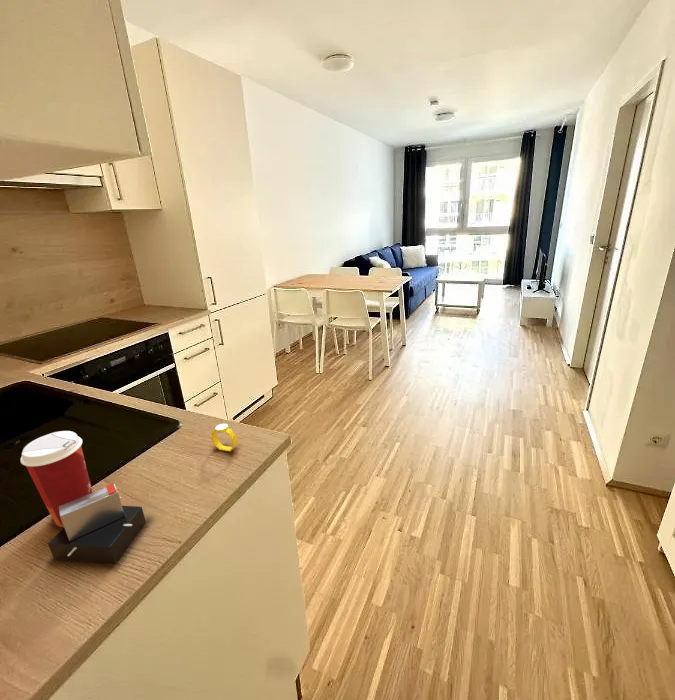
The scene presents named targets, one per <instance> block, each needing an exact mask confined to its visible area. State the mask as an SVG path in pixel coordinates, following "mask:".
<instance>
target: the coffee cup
mask: <svg viewBox="0 0 675 700" xmlns="http://www.w3.org/2000/svg"><path fill="white" fill-rule="evenodd" d="M82 445H83V438H81V437H80V436H78V434H77V433H76V432H74V431H71V430H60V431H54V432H51V433H47V434H45V435H42V436H40V437H37V438H36V439H34V440H32V441H30V442H29V443H27V444H26V445H25V446H24V447H23V449H22V452H21V457H20V459H19V460H20V464H21V465H22V466H25V467H26V469H27V471H28V474H29V475H30V477H31V479H32V481H33V483H34V486H35V488H36V489H37V491H38V493H39V495H40V497H41V499H42V501H43V503H44V505H45V507H46V509H47V511H48V513H49V514H50V517H51V518H52V520H53V522H54V524H55V525H56V526H57V527H59V528H64V526H63V523H62V520H61V518H60V512H59V506H61V505H64V504H66V503H69V502H71V501H73V500H76V499H78V498H81V497H83V496H86V495H88V494H91V493H93V489H92V485H91V480H90V476H89V472H88V468H87V464H86V461H85V456H84V452H83V448H82Z"/></svg>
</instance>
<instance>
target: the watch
mask: <svg viewBox="0 0 675 700" xmlns="http://www.w3.org/2000/svg"><path fill="white" fill-rule="evenodd" d="M214 427H215V428H214V429H213V430H212V432H211V434H210V437H211V441H212V443H213V445H214V446H215V448H217V449H218V450H219V451H225V452H232V451H233V450H234V449H235V448H236V447H237V445H238V439H237V436H236V434H235V432H234V431H233V430H232V429H231V428H229V424H228V423H220V424H218V425H216V426H214ZM217 433H219V434H221V433H225V434H226V435H227V436H228V437H229V438H230V440H231V442H232V445H231V446H228V445H223V444H222V443H221V442H220V440H219V438H218V435H217Z"/></svg>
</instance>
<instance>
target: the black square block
mask: <svg viewBox="0 0 675 700" xmlns="http://www.w3.org/2000/svg"><path fill="white" fill-rule="evenodd" d="M119 497H120V500H121V499H122V498H123V496H120V495H119ZM122 507H123V511H124V514H125V516H124V517H122V518H120V519H118V520H116V521H114V522H111V523H109V524H107V525H105V526H103V527H101V528H98V529H96V530H94V531H92V532H90V533H88V534H85V535H83V536H81V537H79V538H77V539H75V540H72V541H69V539H68V536H67V533H66V531H65V528H64V527H62V529H61V530H60V531H58V532H57V533H56V534H55V535H54V536H53V538H52V539H50V540H49V542H48V543H47V545H48V548H49V550H50V552H51V555H52V557H53V561H58V562H59V561H60V562H74V563H75V562H76V563H90V564H106V565H116V564H117V563H118V561H119V560H120V559H121V557H122V556H123V555H124V553H125V551H127V549H128V548H129V547H130V545H131V543H132V542H133V541H134V540H135V538H136V537H137V536H138V534H139V533H140V532H141V530H142V529H143V527H144V526H145V524H146V523H147V521H146V518H145V514H144V510H143V506H137V505H122Z"/></svg>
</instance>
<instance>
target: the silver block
mask: <svg viewBox="0 0 675 700" xmlns="http://www.w3.org/2000/svg"><path fill="white" fill-rule="evenodd" d="M122 506H123V504H122V502H121V499H120V493H119V491H118V488H117V485H116V483H111V484H107V485H106V486H105V487H103V488H100V489H99V490H96V491H92V493H91V494H88V495H86V496H83V497H81V498H78V499H76V500H73V501H71V502H69V503H66V504H64V505H61V506H59V512H60V518H61V520H62V523H63V526H64V527H63V528H65V531H66V533H67V536H68V539H69V541H72V540H75V539H77V538H79V537H81V536H83V535H85V534H88V533H90V532H92V531H94V530H96V529H98V528H101V527H103V526H105V525H107V524H109V523H111V522H114V521H116V520H118V519H120V518H122V517H124V516H125V514H124V511H123V507H122Z"/></svg>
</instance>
